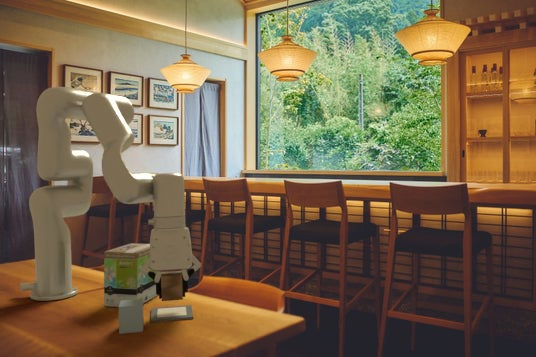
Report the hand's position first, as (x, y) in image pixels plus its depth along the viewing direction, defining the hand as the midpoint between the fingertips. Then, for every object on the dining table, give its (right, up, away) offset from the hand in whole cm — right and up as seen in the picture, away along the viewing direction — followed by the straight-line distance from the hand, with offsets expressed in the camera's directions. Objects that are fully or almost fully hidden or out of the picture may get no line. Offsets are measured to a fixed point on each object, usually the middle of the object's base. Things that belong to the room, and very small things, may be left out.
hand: (172, 295), depth 119 cm
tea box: (-13, -5, +14) cm, 20 cm away
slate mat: (0, -5, 0) cm, 5 cm away
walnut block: (0, -1, 0) cm, 1 cm away
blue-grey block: (-7, -5, -10) cm, 13 cm away
